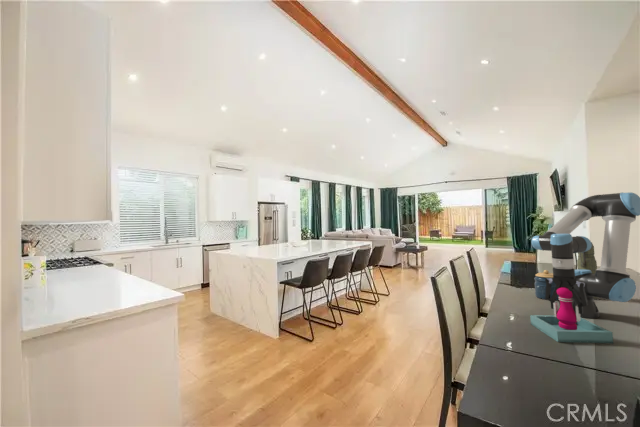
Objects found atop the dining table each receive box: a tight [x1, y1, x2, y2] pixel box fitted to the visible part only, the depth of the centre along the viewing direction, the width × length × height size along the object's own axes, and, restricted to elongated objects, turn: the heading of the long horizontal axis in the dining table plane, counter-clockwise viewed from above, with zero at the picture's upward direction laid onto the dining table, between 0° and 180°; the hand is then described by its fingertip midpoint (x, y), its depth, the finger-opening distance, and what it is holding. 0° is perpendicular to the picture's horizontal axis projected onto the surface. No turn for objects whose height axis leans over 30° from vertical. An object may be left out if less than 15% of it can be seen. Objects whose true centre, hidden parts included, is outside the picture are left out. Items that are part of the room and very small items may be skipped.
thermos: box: [576, 241, 600, 301], centre depth 173 cm, size 9×12×35 cm
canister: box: [533, 269, 560, 301], centre depth 177 cm, size 13×13×18 cm
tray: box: [529, 314, 614, 344], centre depth 125 cm, size 20×20×4 cm
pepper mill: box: [557, 287, 577, 330], centre depth 125 cm, size 7×7×20 cm
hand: (567, 318), depth 125 cm, fingers closed on pepper mill, 7 cm apart
